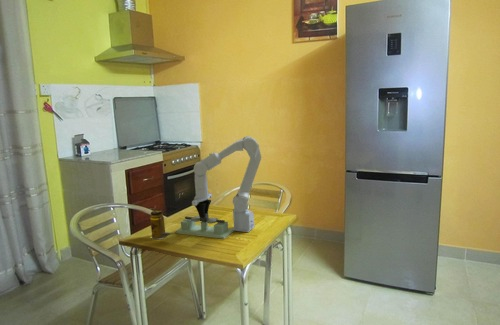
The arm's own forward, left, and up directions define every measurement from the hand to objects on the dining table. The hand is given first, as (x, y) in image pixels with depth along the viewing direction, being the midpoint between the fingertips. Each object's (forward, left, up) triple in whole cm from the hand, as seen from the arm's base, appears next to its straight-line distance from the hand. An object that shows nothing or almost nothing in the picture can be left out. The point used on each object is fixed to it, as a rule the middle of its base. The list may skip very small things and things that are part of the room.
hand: (203, 216), depth 155 cm
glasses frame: (0, 0, -2) cm, 2 cm away
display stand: (0, 0, -8) cm, 8 cm away
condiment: (+18, +10, -8) cm, 22 cm away
